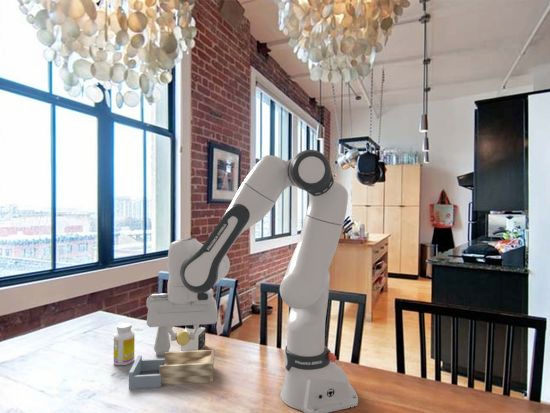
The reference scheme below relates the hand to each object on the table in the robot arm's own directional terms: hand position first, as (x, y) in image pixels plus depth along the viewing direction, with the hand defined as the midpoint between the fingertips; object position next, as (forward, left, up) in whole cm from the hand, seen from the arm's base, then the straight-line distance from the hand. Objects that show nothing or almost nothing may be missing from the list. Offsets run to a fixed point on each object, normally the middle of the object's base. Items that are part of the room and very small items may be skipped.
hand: (183, 339), depth 99 cm
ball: (0, 0, 0) cm, 0 cm away
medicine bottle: (-1, -30, -16) cm, 34 cm away
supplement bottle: (+22, -22, -16) cm, 35 cm away
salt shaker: (+10, -27, -16) cm, 33 cm away
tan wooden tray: (-1, -9, -16) cm, 18 cm away
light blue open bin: (+11, -9, -16) cm, 21 cm away
